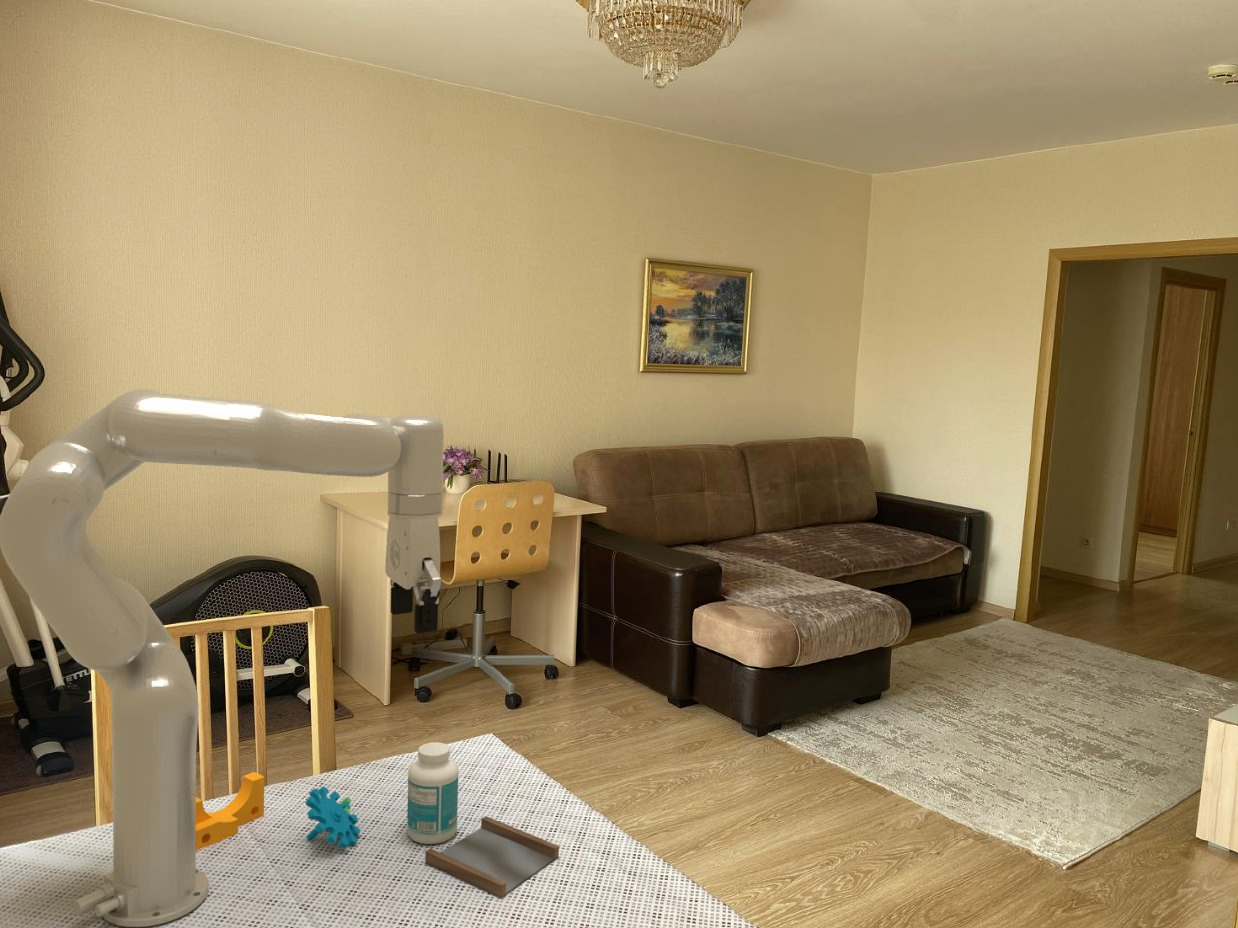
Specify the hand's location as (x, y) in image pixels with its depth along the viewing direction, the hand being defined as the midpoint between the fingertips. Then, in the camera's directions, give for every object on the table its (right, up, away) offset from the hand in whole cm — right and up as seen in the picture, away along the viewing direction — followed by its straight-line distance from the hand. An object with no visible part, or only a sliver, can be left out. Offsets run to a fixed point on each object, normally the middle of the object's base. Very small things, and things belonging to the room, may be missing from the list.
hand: (413, 622), depth 133 cm
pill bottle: (+1, -34, +8) cm, 34 cm away
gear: (-13, -33, +5) cm, 36 cm away
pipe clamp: (-29, -32, +5) cm, 44 cm away
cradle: (+11, -35, +1) cm, 36 cm away
